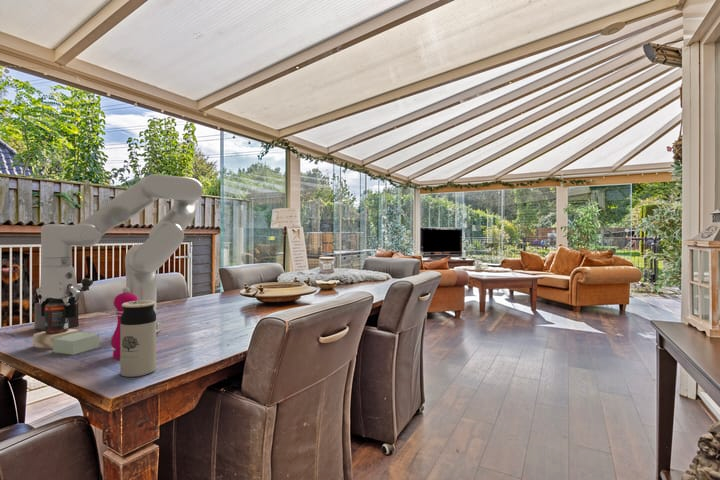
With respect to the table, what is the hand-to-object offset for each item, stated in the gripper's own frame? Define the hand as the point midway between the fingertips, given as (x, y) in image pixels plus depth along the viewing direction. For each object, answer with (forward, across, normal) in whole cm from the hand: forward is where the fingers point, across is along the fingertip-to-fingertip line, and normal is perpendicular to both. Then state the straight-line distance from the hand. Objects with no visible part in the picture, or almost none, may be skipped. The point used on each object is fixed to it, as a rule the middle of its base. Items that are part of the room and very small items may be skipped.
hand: (58, 316), depth 120 cm
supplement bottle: (+5, 0, 0) cm, 5 cm away
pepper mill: (+9, -30, +3) cm, 31 cm away
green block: (+9, -11, +3) cm, 14 cm away
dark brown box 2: (+9, +21, -17) cm, 29 cm away
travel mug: (+9, -44, +12) cm, 46 cm away
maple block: (+9, 0, +1) cm, 9 cm away
